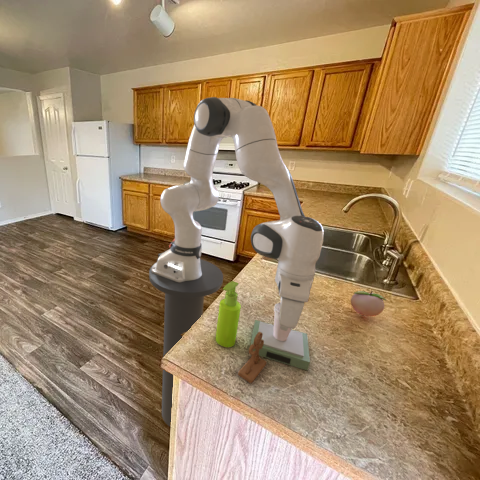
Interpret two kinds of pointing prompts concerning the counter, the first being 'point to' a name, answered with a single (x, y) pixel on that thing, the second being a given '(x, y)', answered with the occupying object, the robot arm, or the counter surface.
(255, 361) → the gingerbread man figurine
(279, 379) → the counter surface
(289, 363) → the scale
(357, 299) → the decorative fruit
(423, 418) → the counter surface
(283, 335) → the smoothie
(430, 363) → the counter surface
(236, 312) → the soap dispenser
